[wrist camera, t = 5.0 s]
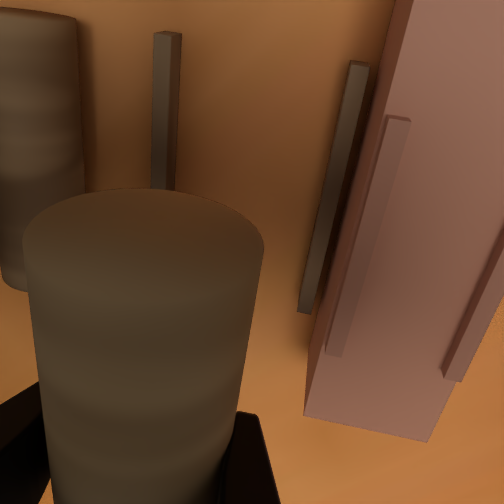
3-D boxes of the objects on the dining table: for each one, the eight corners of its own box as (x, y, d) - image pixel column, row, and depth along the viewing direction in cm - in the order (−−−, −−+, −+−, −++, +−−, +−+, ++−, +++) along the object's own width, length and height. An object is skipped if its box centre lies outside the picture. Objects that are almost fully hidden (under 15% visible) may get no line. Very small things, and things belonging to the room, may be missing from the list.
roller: (222, 511, 11) (187, 668, 9) (102, 483, 11) (33, 626, 9) (275, 210, 7) (242, 328, 5) (91, 175, 7) (-38, 268, 5)
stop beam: (412, 372, 22) (429, 453, 18) (308, 350, 22) (302, 425, 18) (571, -15, 14) (661, -19, 10) (405, -38, 14) (430, -51, 10)
